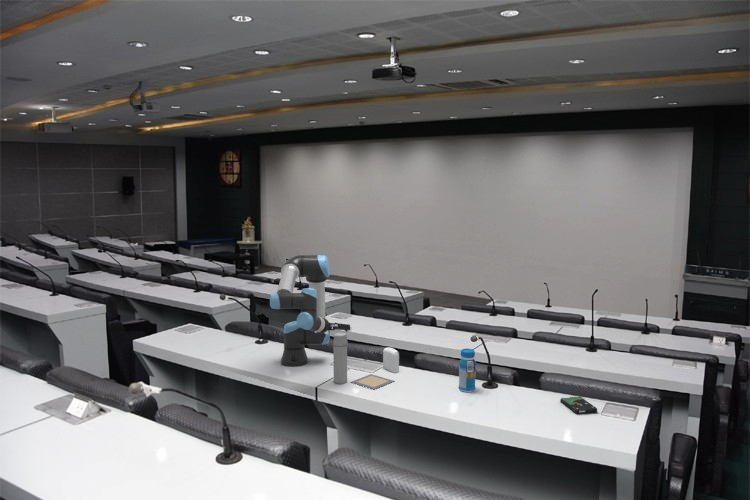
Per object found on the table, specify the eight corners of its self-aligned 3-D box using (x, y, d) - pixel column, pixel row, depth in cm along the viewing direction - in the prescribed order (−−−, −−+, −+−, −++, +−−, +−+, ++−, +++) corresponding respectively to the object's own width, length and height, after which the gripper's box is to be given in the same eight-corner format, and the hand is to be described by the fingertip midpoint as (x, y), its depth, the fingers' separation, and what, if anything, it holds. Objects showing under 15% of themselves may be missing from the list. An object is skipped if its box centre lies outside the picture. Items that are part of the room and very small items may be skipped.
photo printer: (381, 368, 304) (382, 346, 302) (387, 367, 307) (387, 345, 305) (394, 373, 296) (394, 351, 295) (400, 371, 299) (400, 349, 297)
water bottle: (346, 385, 278) (345, 336, 275) (331, 383, 279) (330, 335, 277) (350, 379, 287) (350, 332, 284) (335, 377, 288) (335, 331, 286)
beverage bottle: (455, 390, 270) (456, 351, 268) (461, 385, 278) (462, 346, 276) (472, 393, 267) (473, 353, 264) (477, 388, 274) (478, 349, 272)
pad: (350, 382, 281) (350, 381, 281) (371, 374, 293) (371, 373, 293) (374, 390, 271) (374, 389, 271) (394, 381, 283) (394, 380, 283)
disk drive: (597, 414, 244) (580, 401, 258) (598, 408, 244) (580, 395, 258) (576, 416, 242) (559, 403, 257) (576, 410, 242) (559, 397, 256)
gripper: (296, 334, 270) (317, 339, 289) (341, 330, 261) (360, 336, 279) (297, 319, 272) (318, 325, 291) (341, 315, 263) (360, 321, 281)
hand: (339, 330), depth 285 cm, fingers open, 13 cm apart
